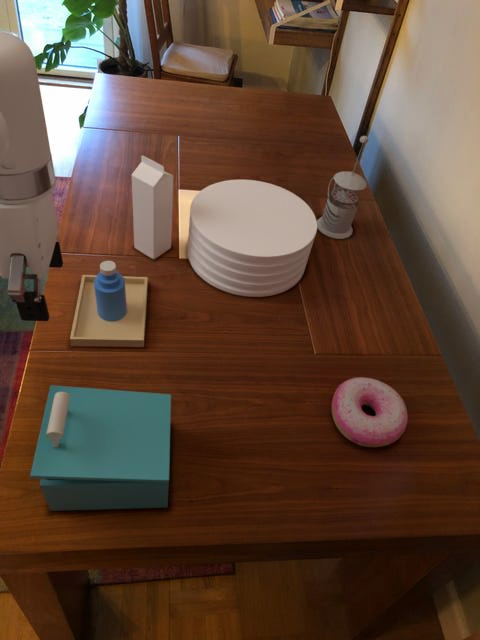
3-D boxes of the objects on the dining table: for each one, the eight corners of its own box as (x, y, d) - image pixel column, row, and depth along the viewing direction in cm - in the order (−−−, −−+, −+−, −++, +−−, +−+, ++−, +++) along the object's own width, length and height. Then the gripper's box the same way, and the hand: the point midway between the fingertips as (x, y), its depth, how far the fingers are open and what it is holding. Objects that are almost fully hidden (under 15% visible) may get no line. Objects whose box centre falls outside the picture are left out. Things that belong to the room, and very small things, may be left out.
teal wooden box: (50, 510, 68) (39, 485, 62) (66, 426, 77) (58, 396, 71) (167, 507, 71) (168, 482, 64) (169, 426, 80) (170, 397, 73)
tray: (143, 347, 90) (143, 340, 89) (71, 346, 88) (69, 338, 86) (147, 284, 101) (147, 277, 100) (83, 282, 99) (82, 274, 98)
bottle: (104, 325, 92) (98, 279, 83) (93, 306, 95) (86, 260, 86) (131, 315, 94) (128, 270, 85) (119, 297, 97) (116, 252, 88)
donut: (391, 389, 91) (401, 374, 87) (409, 454, 82) (421, 440, 78) (323, 385, 90) (330, 369, 86) (334, 450, 81) (342, 436, 77)
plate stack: (328, 276, 111) (342, 237, 103) (224, 312, 99) (231, 271, 91) (264, 210, 126) (272, 171, 117) (167, 233, 114) (168, 192, 105)
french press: (326, 240, 120) (356, 148, 102) (307, 213, 127) (332, 122, 109) (359, 236, 123) (395, 146, 105) (339, 210, 130) (369, 121, 112)
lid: (30, 478, 60) (27, 459, 56) (50, 388, 69) (49, 367, 65) (168, 482, 64) (174, 465, 60) (170, 397, 73) (175, 377, 70)
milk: (151, 236, 112) (151, 149, 96) (171, 248, 110) (174, 161, 94) (133, 248, 109) (130, 159, 93) (153, 260, 107) (153, 172, 91)
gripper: (-3, 128, 54) (27, 246, 66) (-53, 220, 42) (-6, 342, 55) (67, 133, 55) (83, 249, 67) (36, 225, 43) (62, 344, 56)
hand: (43, 291), depth 61 cm, fingers open, 9 cm apart
